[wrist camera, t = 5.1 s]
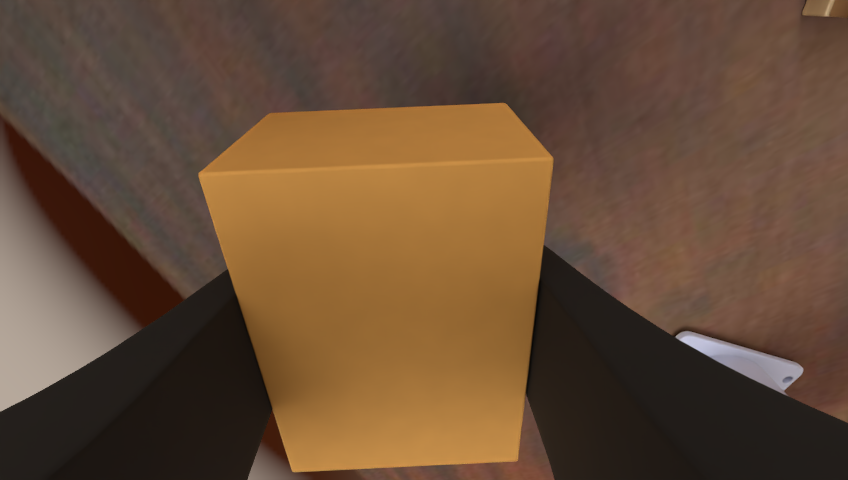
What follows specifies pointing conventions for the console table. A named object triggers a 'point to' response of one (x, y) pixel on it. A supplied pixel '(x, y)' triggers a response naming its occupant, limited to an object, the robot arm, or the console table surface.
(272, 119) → the orange block
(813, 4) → the assembly board
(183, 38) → the console table surface
